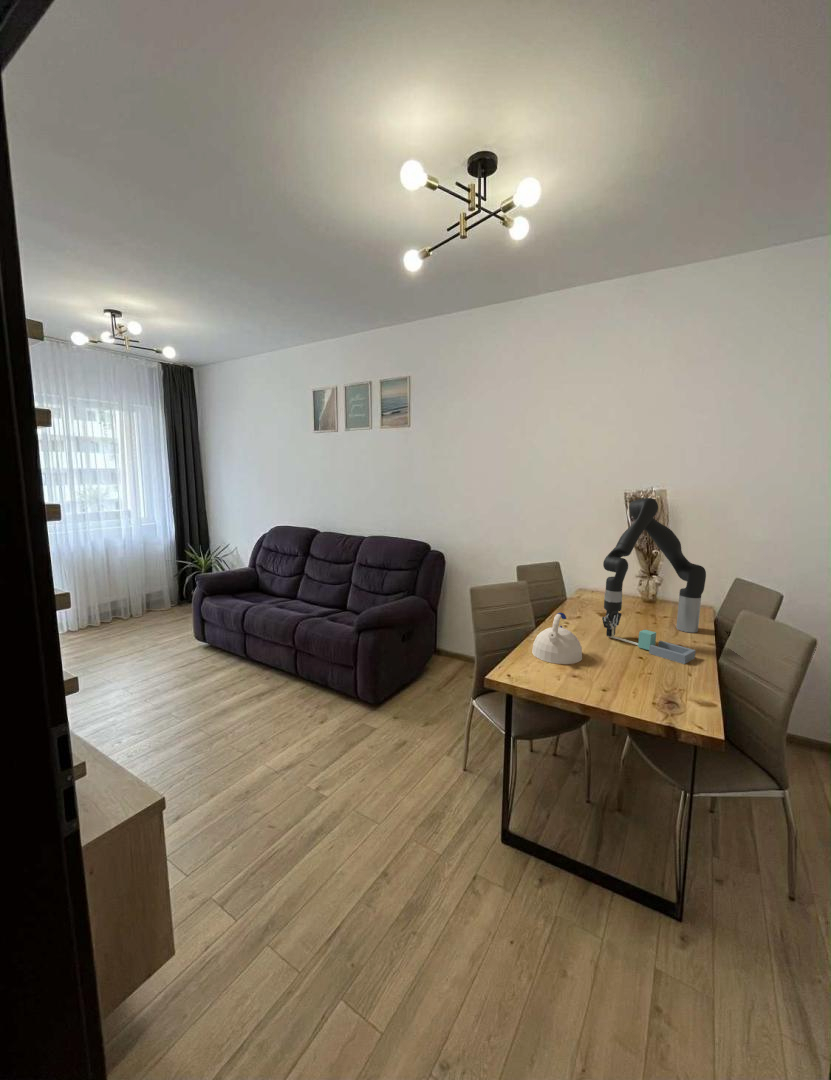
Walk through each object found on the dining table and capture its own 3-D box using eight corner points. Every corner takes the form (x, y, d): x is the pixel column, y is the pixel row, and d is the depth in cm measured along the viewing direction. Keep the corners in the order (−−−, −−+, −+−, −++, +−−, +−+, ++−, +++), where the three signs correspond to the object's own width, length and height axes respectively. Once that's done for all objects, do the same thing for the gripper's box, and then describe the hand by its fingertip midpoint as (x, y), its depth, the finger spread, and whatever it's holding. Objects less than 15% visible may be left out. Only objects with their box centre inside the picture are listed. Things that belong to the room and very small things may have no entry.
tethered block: (610, 635, 211) (611, 620, 211) (655, 647, 196) (656, 632, 195) (605, 637, 208) (606, 622, 207) (649, 650, 193) (650, 634, 192)
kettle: (525, 658, 185) (527, 615, 182) (539, 642, 202) (541, 604, 200) (576, 669, 174) (578, 624, 172) (586, 652, 192) (589, 611, 189)
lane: (659, 648, 197) (660, 640, 196) (694, 658, 186) (695, 650, 185) (648, 653, 190) (649, 645, 190) (684, 664, 180) (685, 655, 179)
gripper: (613, 595, 214) (610, 630, 216) (597, 600, 205) (595, 636, 207) (628, 598, 208) (625, 634, 210) (613, 603, 199) (610, 641, 202)
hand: (610, 635), depth 209 cm, fingers closed on tethered block, 2 cm apart
